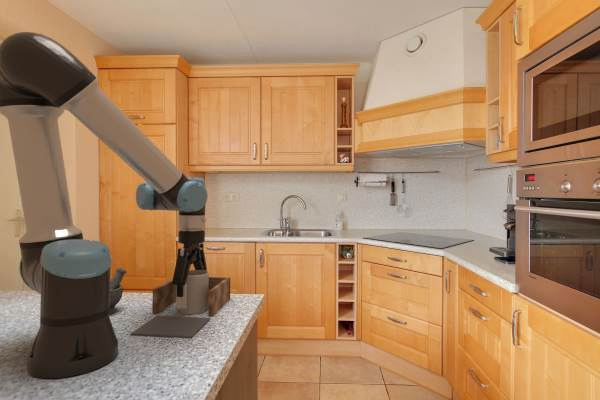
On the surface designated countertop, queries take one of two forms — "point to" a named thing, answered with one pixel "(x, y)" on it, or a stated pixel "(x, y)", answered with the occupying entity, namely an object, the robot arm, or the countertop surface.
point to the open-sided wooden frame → (216, 295)
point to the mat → (171, 326)
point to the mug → (196, 292)
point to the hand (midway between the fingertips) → (190, 301)
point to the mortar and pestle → (116, 289)
